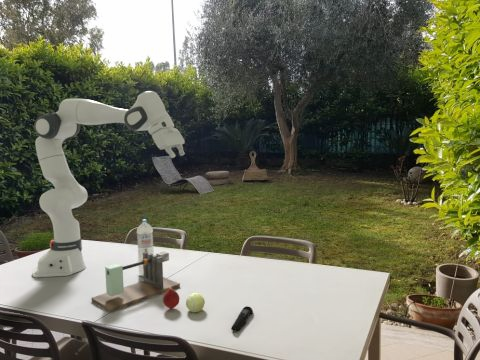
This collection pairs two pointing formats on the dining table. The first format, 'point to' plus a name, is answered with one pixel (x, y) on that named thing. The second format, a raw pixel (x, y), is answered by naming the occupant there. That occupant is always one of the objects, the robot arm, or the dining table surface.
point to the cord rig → (140, 284)
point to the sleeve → (114, 279)
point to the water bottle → (144, 242)
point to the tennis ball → (195, 302)
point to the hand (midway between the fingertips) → (178, 156)
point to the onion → (171, 298)
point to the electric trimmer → (242, 318)
